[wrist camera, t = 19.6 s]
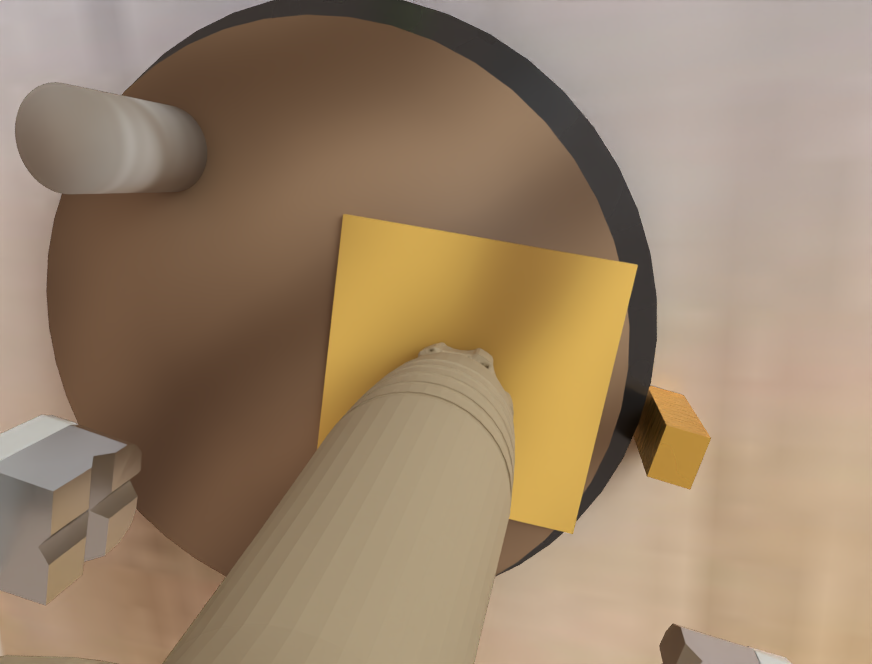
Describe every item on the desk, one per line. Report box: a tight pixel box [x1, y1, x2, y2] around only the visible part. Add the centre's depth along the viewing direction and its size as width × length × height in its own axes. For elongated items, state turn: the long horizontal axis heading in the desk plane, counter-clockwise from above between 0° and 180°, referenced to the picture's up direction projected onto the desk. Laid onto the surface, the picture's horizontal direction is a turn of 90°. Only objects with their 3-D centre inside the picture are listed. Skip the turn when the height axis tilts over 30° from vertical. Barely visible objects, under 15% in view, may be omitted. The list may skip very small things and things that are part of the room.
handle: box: [0, 342, 515, 664], centre depth 10 cm, size 5×6×15 cm
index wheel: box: [15, 15, 638, 576], centre depth 17 cm, size 18×18×6 cm
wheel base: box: [133, 0, 711, 576], centre depth 19 cm, size 20×21×4 cm
